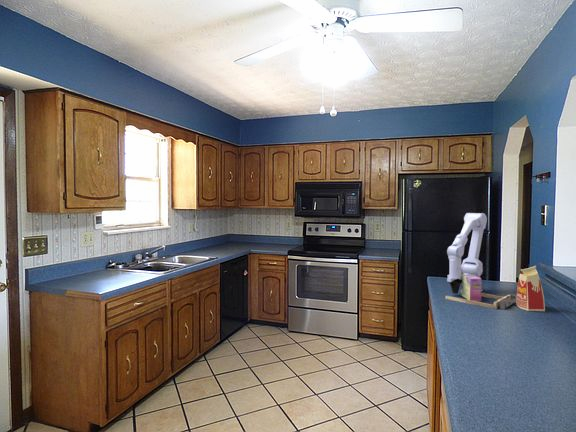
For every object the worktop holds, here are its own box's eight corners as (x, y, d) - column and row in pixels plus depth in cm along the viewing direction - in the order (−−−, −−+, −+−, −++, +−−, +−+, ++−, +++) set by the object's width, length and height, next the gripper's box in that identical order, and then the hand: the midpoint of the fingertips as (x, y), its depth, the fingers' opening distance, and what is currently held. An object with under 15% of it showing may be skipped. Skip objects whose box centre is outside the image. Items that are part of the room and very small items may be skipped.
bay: (461, 292, 194) (461, 285, 194) (518, 302, 173) (518, 294, 173) (445, 298, 182) (445, 291, 182) (504, 310, 161) (504, 302, 161)
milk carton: (533, 305, 168) (534, 264, 167) (546, 311, 159) (546, 267, 158) (513, 305, 169) (514, 264, 168) (524, 311, 160) (525, 267, 159)
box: (481, 301, 176) (481, 278, 175) (469, 301, 176) (469, 278, 176) (472, 296, 186) (472, 274, 186) (461, 296, 187) (461, 274, 186)
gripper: (454, 265, 195) (454, 289, 195) (441, 268, 185) (441, 294, 186) (467, 266, 189) (467, 291, 190) (454, 270, 180) (454, 296, 181)
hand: (455, 293), depth 187 cm, fingers closed
